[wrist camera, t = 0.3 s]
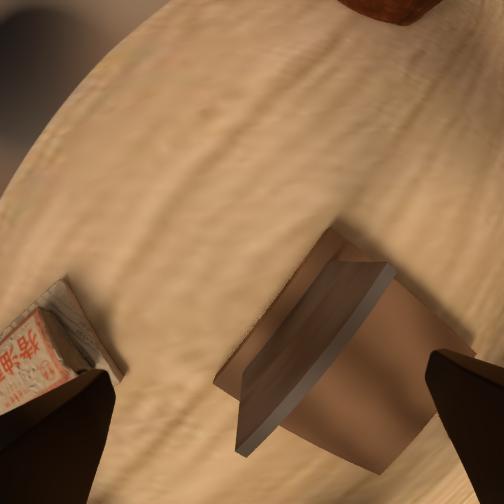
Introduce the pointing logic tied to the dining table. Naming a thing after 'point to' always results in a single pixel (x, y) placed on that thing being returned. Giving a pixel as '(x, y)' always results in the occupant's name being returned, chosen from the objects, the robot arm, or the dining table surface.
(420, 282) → the dining table surface
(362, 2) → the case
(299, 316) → the shelf board
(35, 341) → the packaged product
